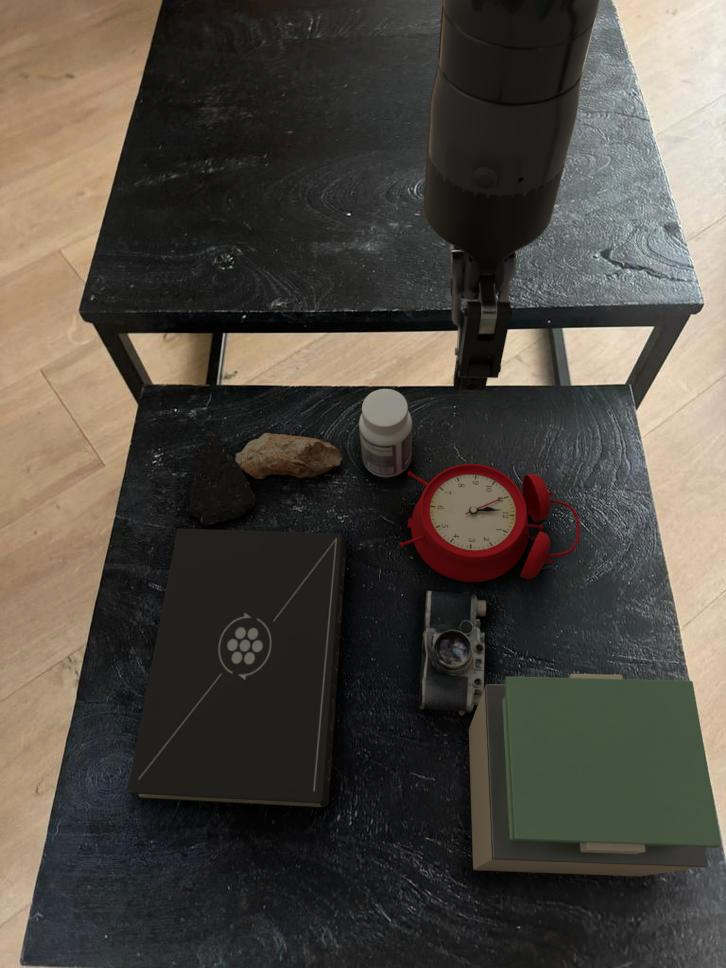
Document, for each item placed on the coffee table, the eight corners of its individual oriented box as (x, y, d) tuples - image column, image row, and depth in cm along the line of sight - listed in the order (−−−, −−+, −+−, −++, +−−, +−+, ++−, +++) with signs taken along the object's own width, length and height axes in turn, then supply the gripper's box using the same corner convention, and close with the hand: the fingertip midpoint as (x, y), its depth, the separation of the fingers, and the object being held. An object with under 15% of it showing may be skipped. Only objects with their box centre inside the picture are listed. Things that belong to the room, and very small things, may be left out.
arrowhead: (188, 528, 69) (178, 436, 74) (191, 531, 70) (180, 439, 75) (256, 511, 69) (241, 420, 74) (258, 515, 70) (243, 424, 75)
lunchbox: (667, 693, 48) (691, 674, 44) (694, 859, 43) (723, 854, 39) (496, 689, 48) (505, 670, 44) (505, 852, 44) (515, 846, 40)
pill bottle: (393, 428, 74) (392, 375, 67) (421, 463, 72) (423, 412, 65) (352, 451, 73) (347, 400, 66) (379, 487, 71) (376, 438, 64)
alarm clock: (404, 453, 69) (577, 447, 64) (418, 487, 74) (579, 484, 69) (392, 559, 64) (579, 560, 59) (408, 588, 69) (581, 591, 64)
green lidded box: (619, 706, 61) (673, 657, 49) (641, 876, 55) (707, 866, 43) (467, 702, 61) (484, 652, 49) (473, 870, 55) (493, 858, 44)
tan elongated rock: (340, 491, 73) (346, 440, 74) (335, 483, 69) (342, 430, 70) (234, 480, 74) (242, 430, 75) (225, 472, 70) (233, 419, 71)
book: (329, 808, 58) (326, 803, 55) (138, 798, 59) (126, 792, 56) (347, 547, 68) (345, 533, 66) (185, 542, 69) (176, 528, 67)
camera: (485, 597, 66) (490, 579, 62) (480, 720, 61) (485, 708, 57) (426, 592, 66) (427, 573, 62) (416, 713, 61) (418, 701, 57)
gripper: (582, 238, 37) (525, 422, 52) (555, 62, 44) (512, 267, 58) (428, 236, 38) (414, 420, 52) (426, 61, 44) (414, 266, 59)
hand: (466, 339), depth 55 cm, fingers open, 8 cm apart
